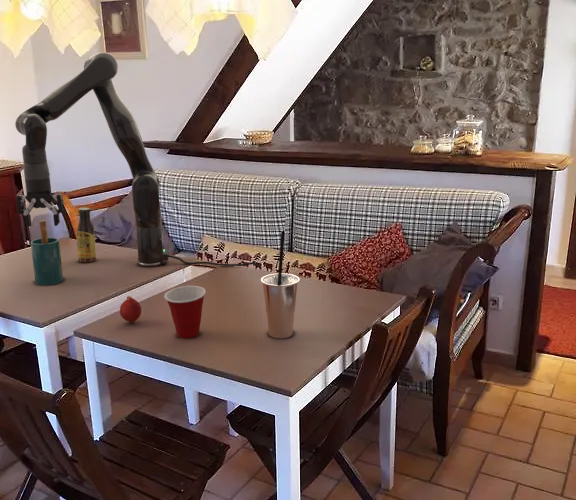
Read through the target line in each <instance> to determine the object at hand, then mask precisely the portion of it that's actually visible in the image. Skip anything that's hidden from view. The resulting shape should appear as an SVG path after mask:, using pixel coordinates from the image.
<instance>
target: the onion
mask: <svg viewBox="0 0 576 500" xmlns="http://www.w3.org/2000/svg"><path fill="white" fill-rule="evenodd" d="M119 314H120V317H121V318H122V319H123V320H125V321H126V322H128V323H129V324H134V323H135V322H137V320H139V318H140V317H141V314H142V305H141V304H140V302H139V301H138V300H136V299H134V298H133V297H132V296H130V295H127V296H126V299H125V300H123V302H122V303H121V305H120V306H119Z"/></svg>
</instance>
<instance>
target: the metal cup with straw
mask: <svg viewBox="0 0 576 500" xmlns="http://www.w3.org/2000/svg"><path fill="white" fill-rule="evenodd" d="M285 235H286V232H285V231H282V230H281V232H280V243H279V257H278V258H279V259H278V272H277V273H270V274H267V275H264V276H262V277H261V278H260V282H261V283H262V287H263V288H262V289H263V296H264V304H265V312H266V318H267V319H266V321H267V329H268V335H269V336H270V337H271V338H275V339H286V338H290V337H291V336H293V334H294V323H295V312H296V303H297V294H298V284H299V282H300V280H301V279H300V277H299V276H297V275H295V274H292V273H285V272H284V273H283V264H284V263H283V261H284V249H285Z"/></svg>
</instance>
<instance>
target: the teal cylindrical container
mask: <svg viewBox="0 0 576 500" xmlns="http://www.w3.org/2000/svg"><path fill="white" fill-rule="evenodd" d="M30 248H31V249H30V250H31V258H32V266H33V275H34V281H35V284H36V285H37V286H51V285H57V284H60V283H62V282H63V281H64V272H63V264H62V255H61V245H60V239H59V238H57V237H48V243H47V244H42V241H41V237H40V238H36V239H32V240H31V241H30Z"/></svg>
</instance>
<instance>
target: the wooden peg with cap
mask: <svg viewBox="0 0 576 500" xmlns="http://www.w3.org/2000/svg"><path fill="white" fill-rule="evenodd" d="M38 223H39V232H40V238H41V241H42V244H47V243H48V238H49V237H48V231H47V229H48V228H47V220H45V219H41V220H39V221H38Z"/></svg>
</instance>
